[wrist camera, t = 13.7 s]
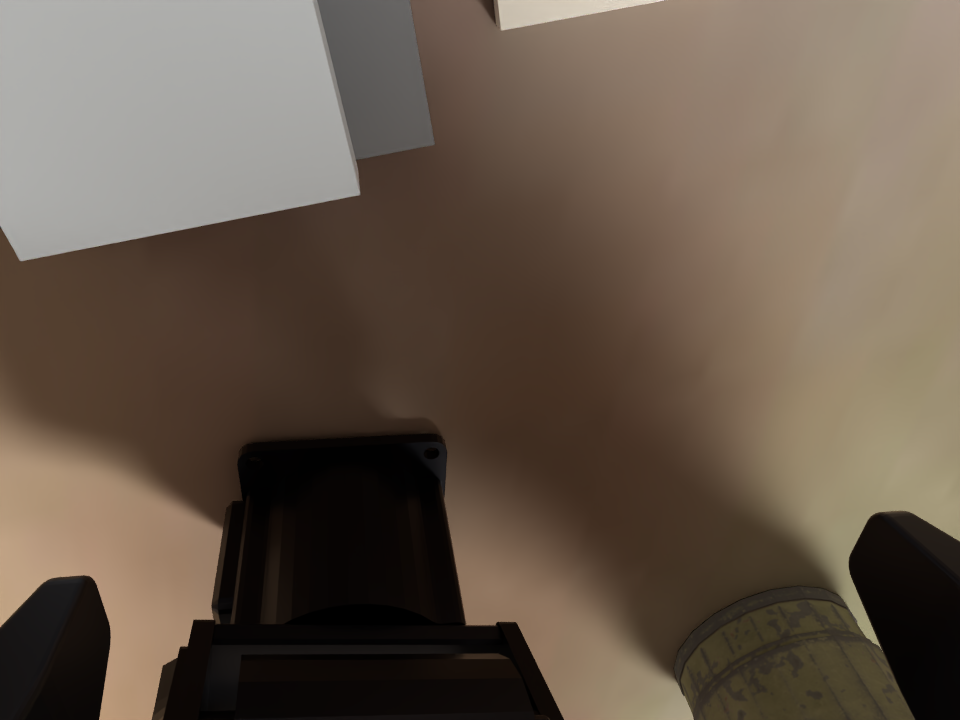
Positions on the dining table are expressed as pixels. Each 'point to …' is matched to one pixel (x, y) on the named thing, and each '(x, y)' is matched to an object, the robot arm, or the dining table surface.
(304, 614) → the robot arm
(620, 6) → the card
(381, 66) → the keypad board
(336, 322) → the dining table surface
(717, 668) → the thermos
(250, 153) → the grey-blue key
